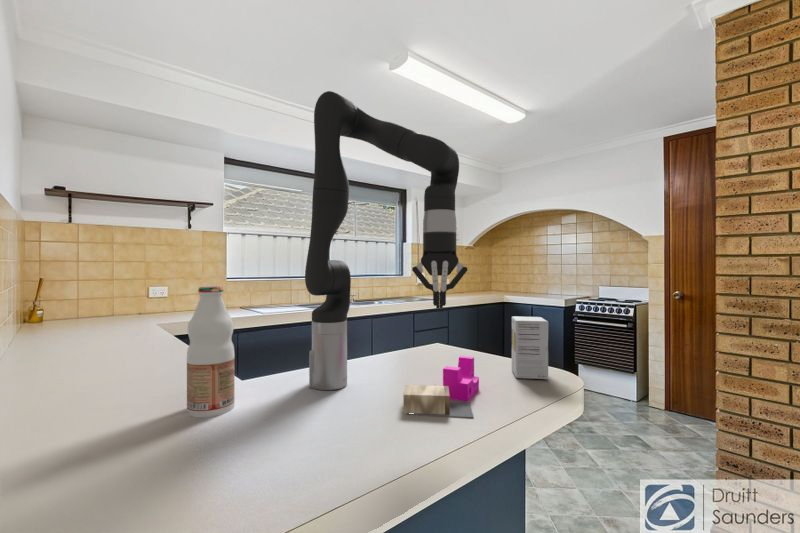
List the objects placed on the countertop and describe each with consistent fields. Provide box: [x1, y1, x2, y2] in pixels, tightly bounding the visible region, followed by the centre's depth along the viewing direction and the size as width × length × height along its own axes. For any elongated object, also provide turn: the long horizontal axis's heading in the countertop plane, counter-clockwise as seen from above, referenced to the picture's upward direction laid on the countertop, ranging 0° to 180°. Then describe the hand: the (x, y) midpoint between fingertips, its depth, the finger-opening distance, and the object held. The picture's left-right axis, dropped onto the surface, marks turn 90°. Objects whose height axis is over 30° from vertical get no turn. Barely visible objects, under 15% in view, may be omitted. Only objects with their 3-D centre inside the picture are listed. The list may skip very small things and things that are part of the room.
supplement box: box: [511, 315, 549, 380], centre depth 116 cm, size 10×9×17 cm
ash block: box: [402, 384, 451, 414], centre depth 88 cm, size 4×7×10 cm
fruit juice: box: [186, 286, 236, 418], centre depth 85 cm, size 9×9×28 cm
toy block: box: [442, 355, 480, 402], centre depth 101 cm, size 15×6×8 cm, turn 154°
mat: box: [406, 401, 475, 419], centre depth 88 cm, size 16×9×1 cm, turn 85°
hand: (439, 307), depth 88 cm, fingers closed
